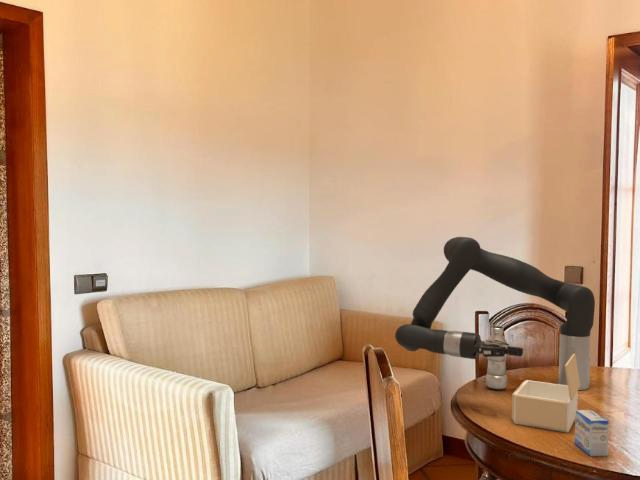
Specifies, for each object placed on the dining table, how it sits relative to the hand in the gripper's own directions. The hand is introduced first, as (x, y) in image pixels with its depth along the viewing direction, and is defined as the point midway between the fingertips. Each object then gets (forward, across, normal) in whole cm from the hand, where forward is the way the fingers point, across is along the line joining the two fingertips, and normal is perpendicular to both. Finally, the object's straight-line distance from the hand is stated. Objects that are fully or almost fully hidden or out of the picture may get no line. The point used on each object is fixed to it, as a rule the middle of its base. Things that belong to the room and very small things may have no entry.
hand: (522, 352), depth 177 cm
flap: (+13, 0, +5) cm, 14 cm away
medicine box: (+20, -17, +18) cm, 32 cm away
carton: (+7, 0, +18) cm, 19 cm away
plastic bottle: (-12, +22, +18) cm, 31 cm away
